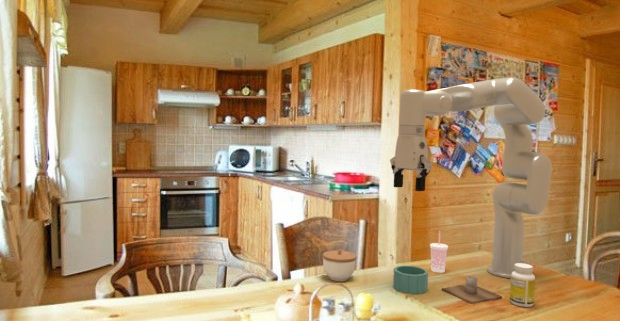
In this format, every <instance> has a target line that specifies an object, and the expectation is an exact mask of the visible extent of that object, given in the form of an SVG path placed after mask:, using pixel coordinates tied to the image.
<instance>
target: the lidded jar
mask: <svg viewBox="0 0 620 321" xmlns="http://www.w3.org/2000/svg"><path fill="white" fill-rule="evenodd" d="M356 260H357V255H356V254H355V253H353V252H352V251H347V250H342V249H341V248H339V249H337V250H328V251H325V252H323V254H322V264H323V269H324V272H325V274H326V275H327V276H328V278H329V279H330V280H332V281H335V282H345V281H348V280H349V278H351V277H352V276H353V274H354V272H355V269H356V265H357V264H356V263H357V262H356Z"/></svg>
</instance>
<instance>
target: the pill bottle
mask: <svg viewBox="0 0 620 321" xmlns="http://www.w3.org/2000/svg"><path fill="white" fill-rule="evenodd" d="M533 268H534V267H533V265H529V264H524V263H516V264H515V265H514V269H515V271H513V272H512V274H511V278H510V289H509V290H510V292H509V301H510V303H511V304H512V305H514V306H518V307H523V308H530V307H531V308H532V307H533V306H534V305H535V289H536V288H535V287H536V285H535V284H536V276H535V274H533V271H534V270H533Z"/></svg>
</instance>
